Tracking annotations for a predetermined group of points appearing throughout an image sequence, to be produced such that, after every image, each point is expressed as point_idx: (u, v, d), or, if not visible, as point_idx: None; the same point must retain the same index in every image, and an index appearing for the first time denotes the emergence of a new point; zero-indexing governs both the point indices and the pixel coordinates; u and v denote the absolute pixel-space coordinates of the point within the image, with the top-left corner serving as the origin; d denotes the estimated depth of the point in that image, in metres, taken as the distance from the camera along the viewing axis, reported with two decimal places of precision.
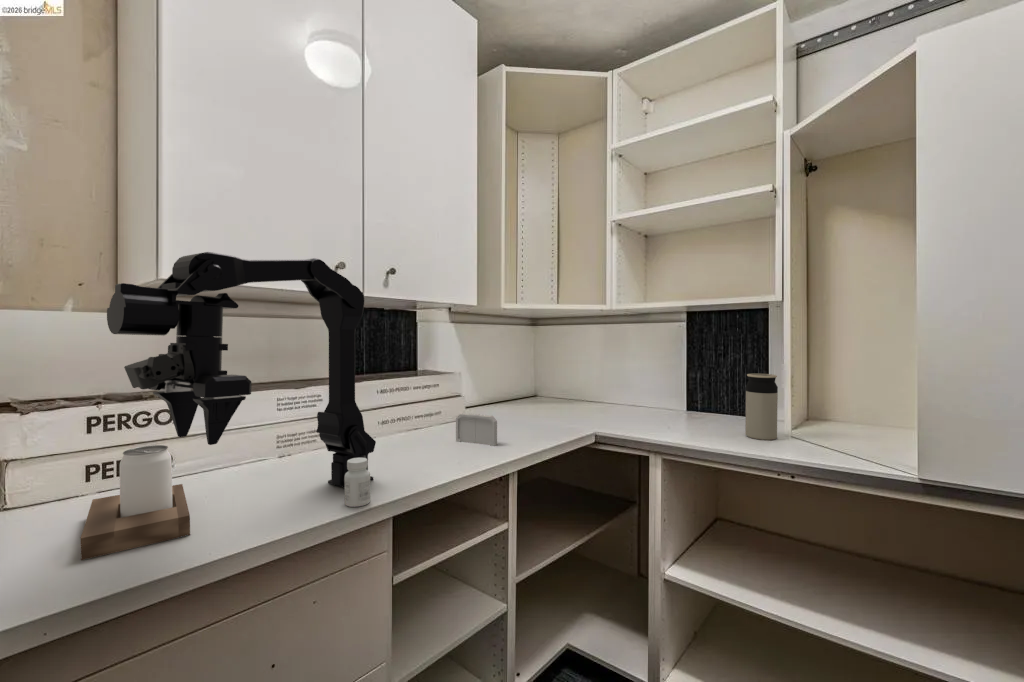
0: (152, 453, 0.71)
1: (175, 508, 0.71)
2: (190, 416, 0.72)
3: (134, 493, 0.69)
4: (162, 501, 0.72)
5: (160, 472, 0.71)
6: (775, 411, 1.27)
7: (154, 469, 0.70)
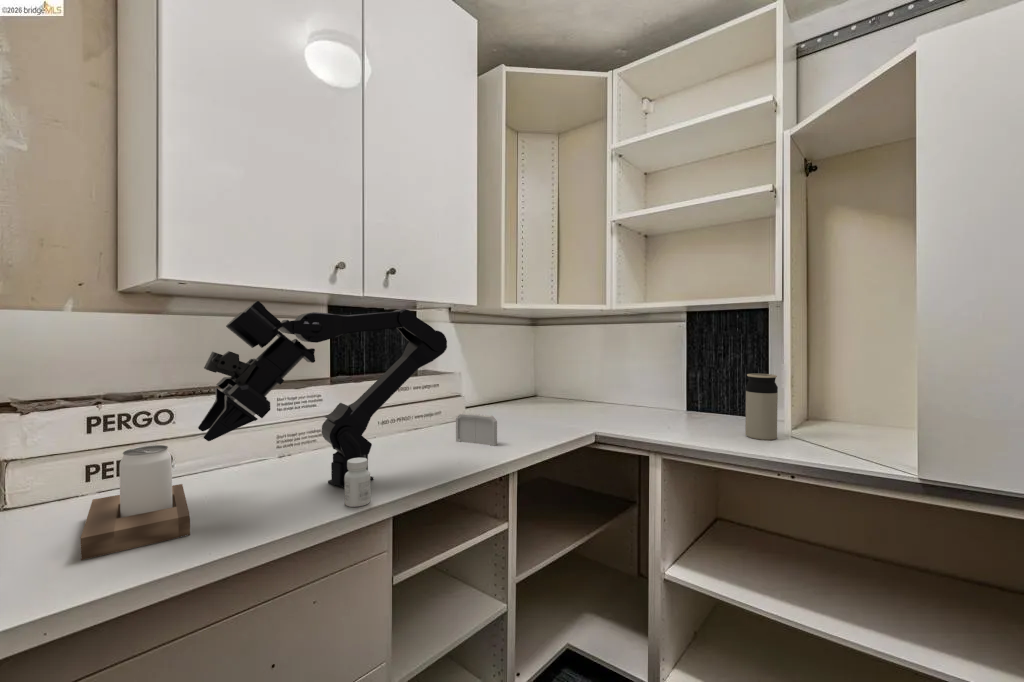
0: (152, 453, 0.71)
1: (175, 508, 0.71)
2: None
3: (134, 493, 0.69)
4: (162, 501, 0.72)
5: (160, 472, 0.71)
6: (775, 411, 1.27)
7: (154, 469, 0.70)
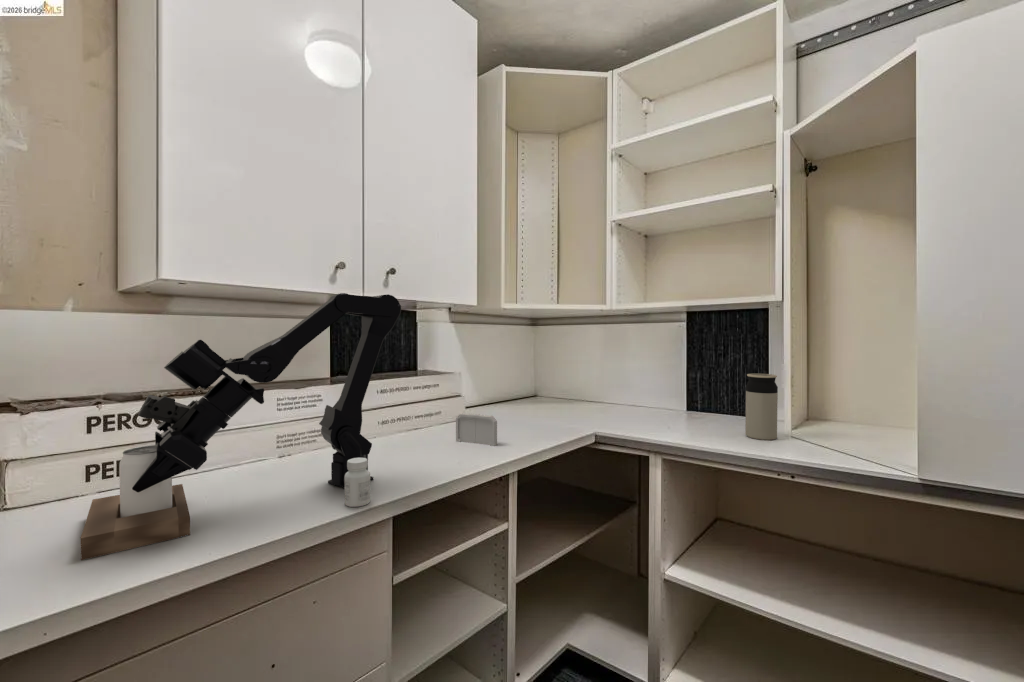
0: (152, 453, 0.71)
1: (175, 508, 0.71)
2: None
3: (133, 492, 0.69)
4: (162, 501, 0.72)
5: None
6: (775, 411, 1.27)
7: None
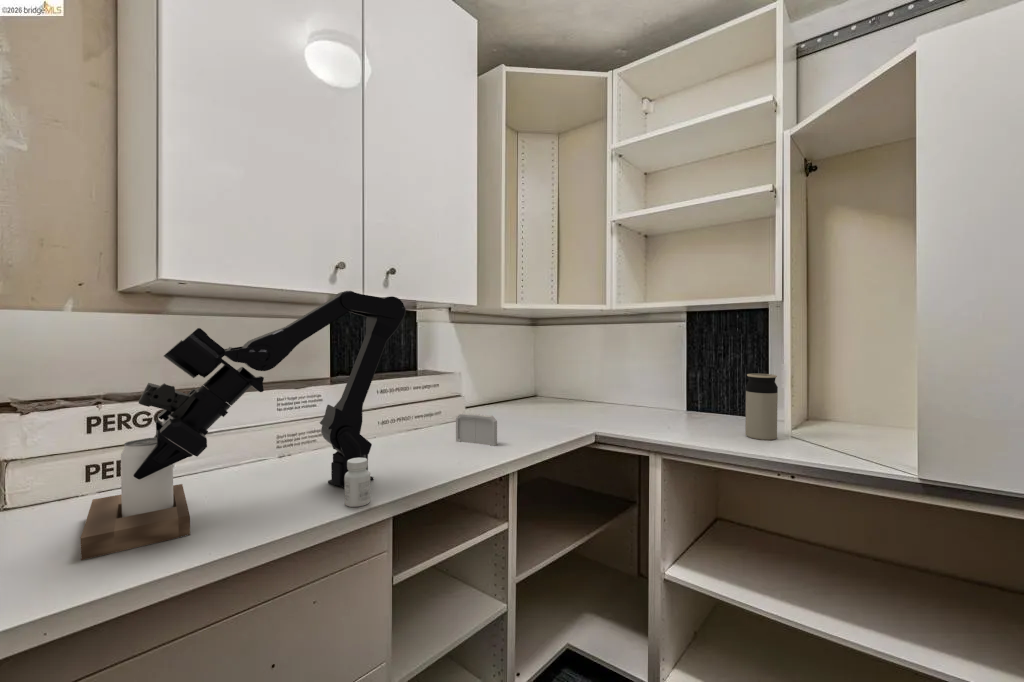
0: (153, 444, 0.71)
1: (175, 508, 0.71)
2: None
3: (134, 483, 0.70)
4: (163, 492, 0.72)
5: None
6: (775, 411, 1.27)
7: None
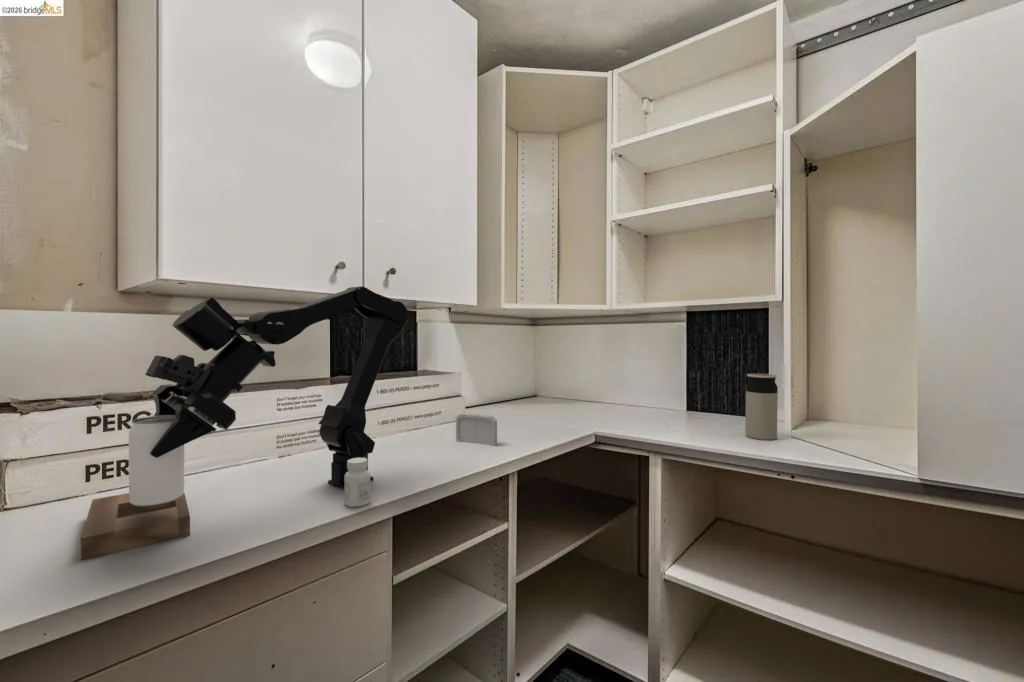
0: (169, 421, 0.66)
1: (175, 508, 0.71)
2: None
3: (150, 464, 0.64)
4: (178, 473, 0.67)
5: None
6: (775, 411, 1.27)
7: None
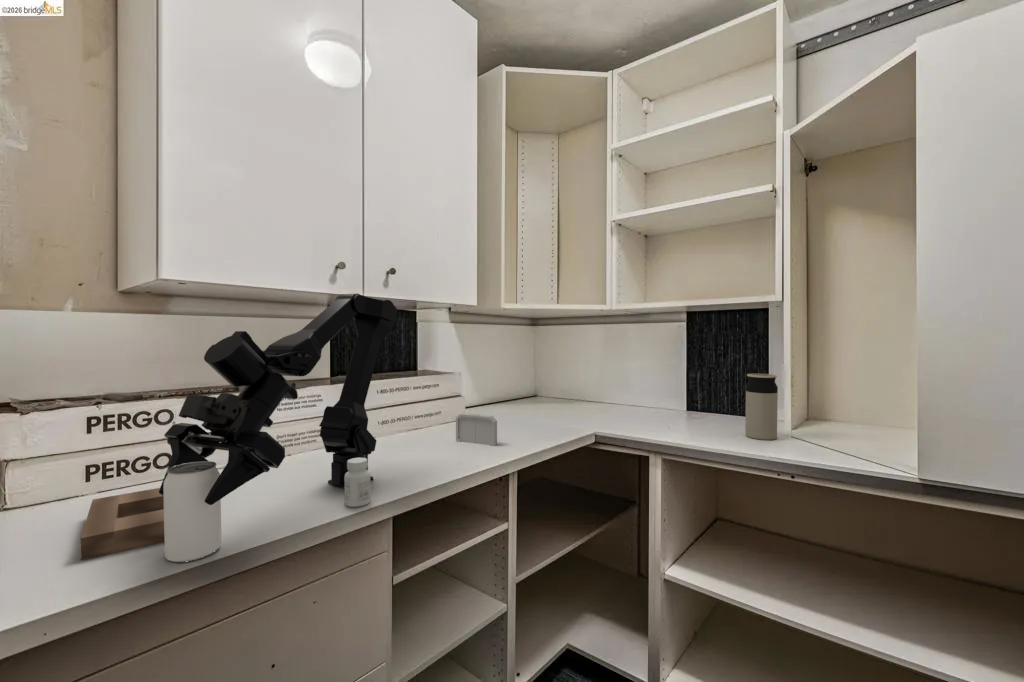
0: (210, 468, 0.63)
1: None
2: None
3: (195, 515, 0.61)
4: (219, 521, 0.64)
5: None
6: (775, 411, 1.27)
7: None
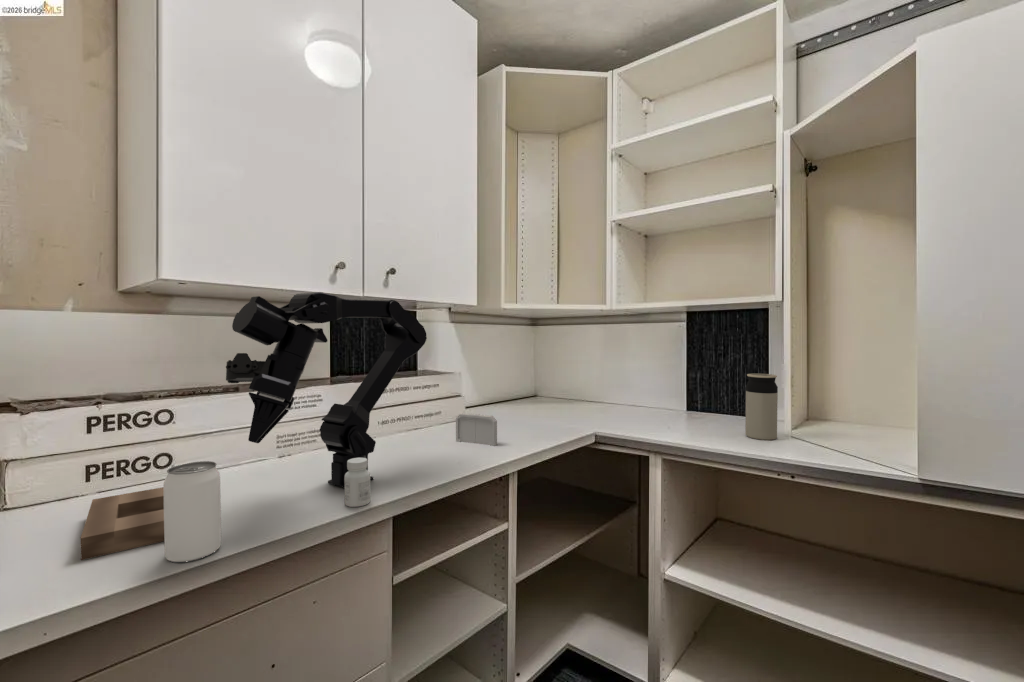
0: (210, 468, 0.63)
1: None
2: (269, 428, 0.81)
3: (195, 515, 0.61)
4: (219, 521, 0.64)
5: (218, 489, 0.64)
6: (775, 411, 1.27)
7: (214, 486, 0.63)
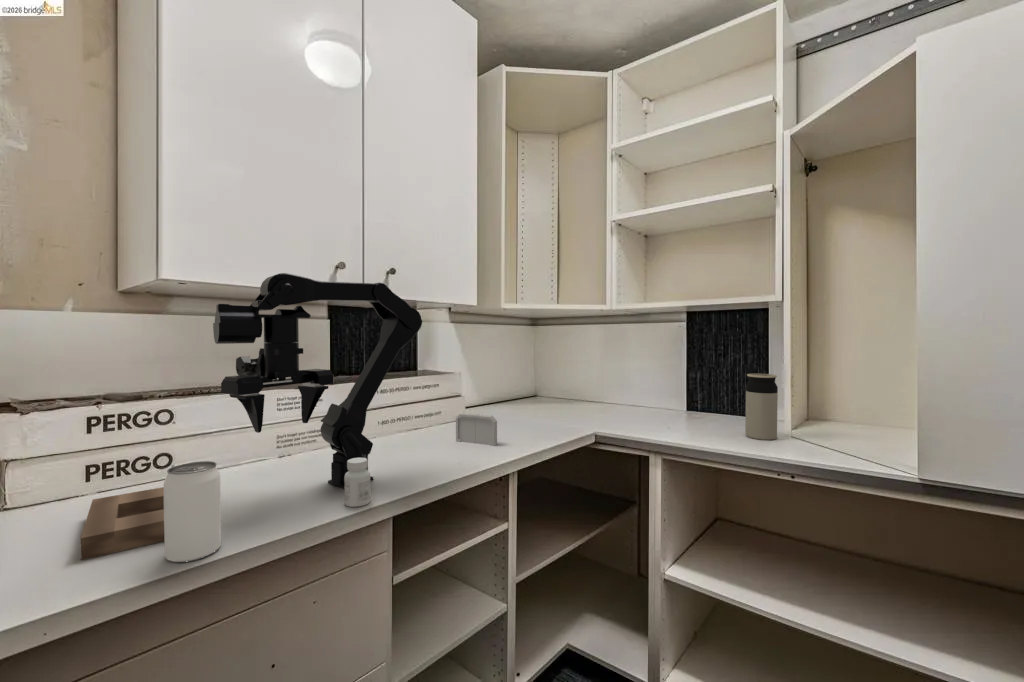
0: (210, 468, 0.63)
1: None
2: (309, 408, 0.87)
3: (195, 515, 0.61)
4: (219, 521, 0.64)
5: (218, 489, 0.64)
6: (775, 411, 1.27)
7: (214, 486, 0.63)
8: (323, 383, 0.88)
